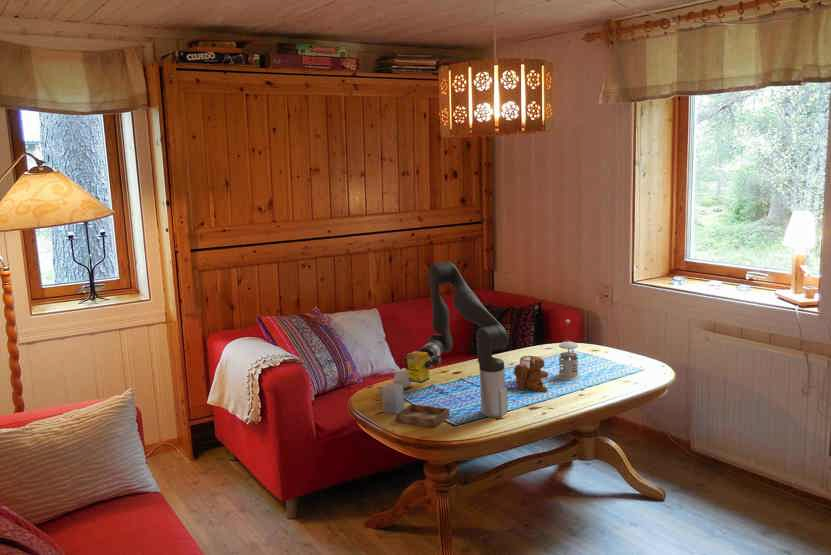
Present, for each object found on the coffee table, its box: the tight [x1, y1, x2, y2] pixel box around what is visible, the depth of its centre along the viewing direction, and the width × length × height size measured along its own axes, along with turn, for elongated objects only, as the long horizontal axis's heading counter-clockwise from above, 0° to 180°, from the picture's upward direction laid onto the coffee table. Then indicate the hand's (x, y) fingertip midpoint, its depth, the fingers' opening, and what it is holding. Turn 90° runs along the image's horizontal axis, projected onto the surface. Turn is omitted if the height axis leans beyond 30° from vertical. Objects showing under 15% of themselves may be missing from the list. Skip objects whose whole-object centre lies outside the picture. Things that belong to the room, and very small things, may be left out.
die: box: [392, 367, 412, 390], centre depth 299 cm, size 8×9×10 cm
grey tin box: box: [381, 382, 405, 415], centre depth 272 cm, size 6×6×10 cm
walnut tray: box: [395, 403, 450, 429], centre depth 262 cm, size 16×12×3 cm
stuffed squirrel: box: [513, 356, 549, 393], centre depth 289 cm, size 10×14×13 cm
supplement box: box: [406, 350, 430, 384], centre depth 272 cm, size 6×6×11 cm
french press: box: [557, 319, 581, 381], centre depth 301 cm, size 10×12×25 cm
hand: (416, 365), depth 270 cm, fingers closed on supplement box, 7 cm apart
